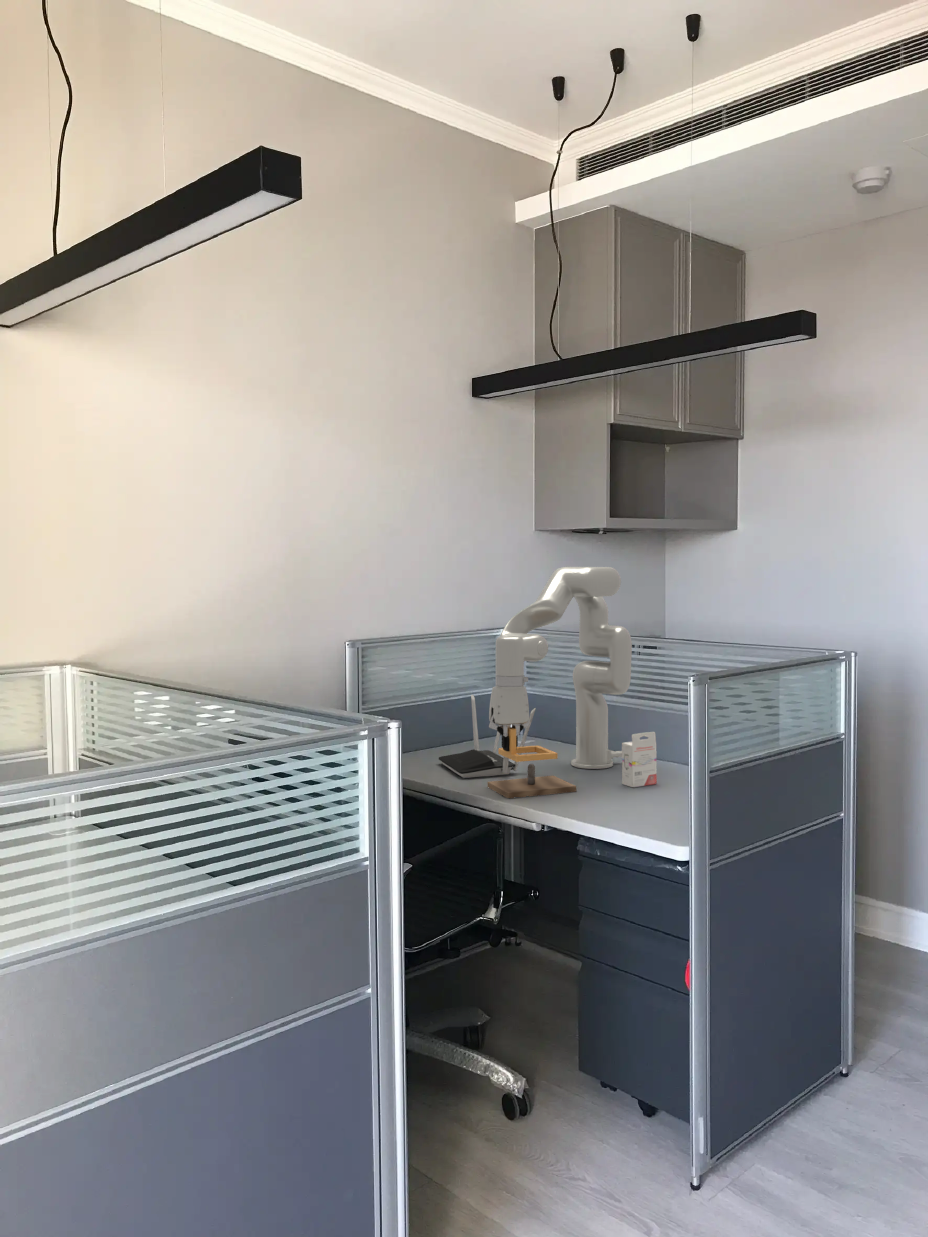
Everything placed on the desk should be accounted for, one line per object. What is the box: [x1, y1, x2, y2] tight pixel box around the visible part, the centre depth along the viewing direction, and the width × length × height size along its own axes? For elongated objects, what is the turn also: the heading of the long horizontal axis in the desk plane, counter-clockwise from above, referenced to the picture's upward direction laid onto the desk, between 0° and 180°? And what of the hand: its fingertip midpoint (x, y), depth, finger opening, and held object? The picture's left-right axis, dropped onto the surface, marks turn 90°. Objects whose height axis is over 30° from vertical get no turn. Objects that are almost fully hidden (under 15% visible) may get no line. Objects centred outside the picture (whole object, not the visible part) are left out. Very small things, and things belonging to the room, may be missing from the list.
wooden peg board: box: [487, 763, 577, 799], centre depth 267 cm, size 20×14×7 cm
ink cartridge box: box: [621, 731, 658, 788], centre depth 272 cm, size 9×5×15 cm, turn 117°
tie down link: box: [497, 726, 559, 763], centre depth 266 cm, size 12×12×8 cm
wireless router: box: [438, 694, 536, 779], centre depth 293 cm, size 34×23×20 cm
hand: (509, 749), depth 264 cm, fingers closed on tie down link, 1 cm apart
